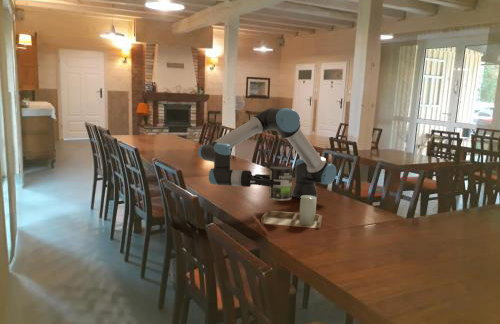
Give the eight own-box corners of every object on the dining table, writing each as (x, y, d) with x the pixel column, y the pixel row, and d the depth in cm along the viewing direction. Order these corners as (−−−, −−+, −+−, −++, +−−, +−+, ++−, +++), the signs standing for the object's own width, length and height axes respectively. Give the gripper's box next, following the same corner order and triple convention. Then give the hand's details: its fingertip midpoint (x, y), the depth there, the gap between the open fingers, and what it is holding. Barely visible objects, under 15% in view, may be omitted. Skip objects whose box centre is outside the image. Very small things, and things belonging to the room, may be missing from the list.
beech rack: (260, 225, 177) (261, 217, 176) (266, 217, 190) (266, 210, 189) (319, 230, 171) (320, 222, 170) (321, 222, 183) (322, 214, 183)
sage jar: (310, 220, 182) (311, 194, 180) (317, 225, 176) (319, 198, 174) (296, 221, 180) (298, 195, 178) (303, 226, 173) (305, 199, 171)
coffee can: (295, 199, 177) (297, 168, 175) (276, 201, 172) (277, 169, 170) (283, 194, 186) (284, 165, 184) (264, 196, 181) (265, 166, 179)
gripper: (247, 182, 194) (293, 185, 188) (235, 191, 172) (286, 194, 167) (248, 166, 193) (293, 169, 187) (235, 174, 171) (286, 177, 166)
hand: (290, 181), depth 177 cm, fingers closed on coffee can, 10 cm apart
